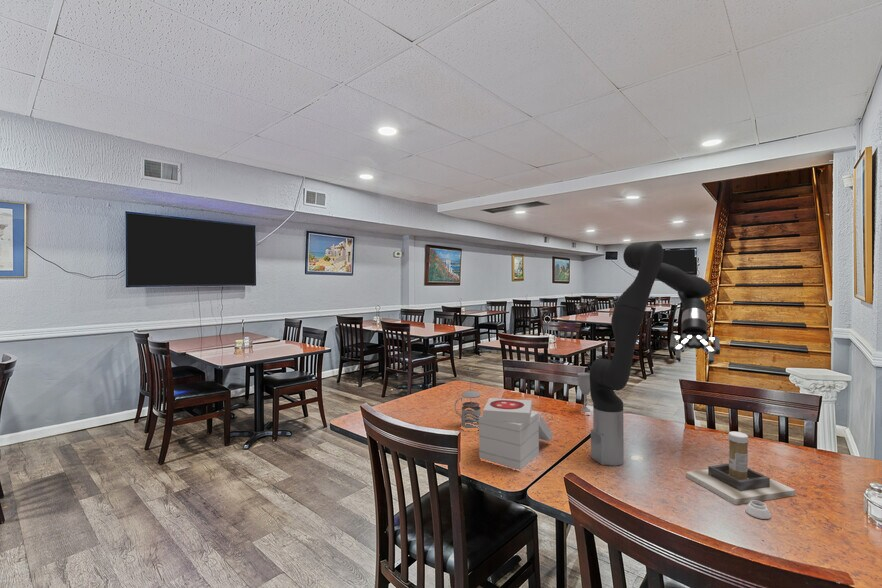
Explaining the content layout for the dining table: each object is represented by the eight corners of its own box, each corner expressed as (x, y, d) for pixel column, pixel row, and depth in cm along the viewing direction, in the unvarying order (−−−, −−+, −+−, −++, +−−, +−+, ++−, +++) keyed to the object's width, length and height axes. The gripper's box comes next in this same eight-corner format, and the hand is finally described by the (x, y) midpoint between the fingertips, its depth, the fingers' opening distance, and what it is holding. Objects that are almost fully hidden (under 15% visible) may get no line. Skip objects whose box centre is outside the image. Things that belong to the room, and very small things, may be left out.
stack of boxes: (557, 444, 146) (557, 395, 146) (523, 476, 122) (522, 417, 122) (510, 434, 157) (509, 388, 157) (469, 461, 133) (469, 407, 133)
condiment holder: (735, 505, 105) (735, 489, 105) (685, 476, 120) (685, 463, 120) (795, 495, 109) (795, 480, 109) (740, 469, 125) (740, 456, 125)
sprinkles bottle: (726, 475, 118) (726, 430, 118) (745, 478, 116) (745, 432, 116) (730, 482, 114) (731, 435, 113) (750, 485, 112) (750, 437, 112)
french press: (484, 431, 160) (483, 369, 160) (455, 432, 160) (454, 369, 160) (482, 423, 170) (481, 364, 169) (454, 423, 170) (454, 365, 170)
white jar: (742, 507, 104) (749, 518, 99) (742, 496, 104) (749, 506, 99) (766, 511, 102) (774, 522, 97) (766, 500, 102) (774, 510, 97)
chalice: (594, 416, 177) (594, 376, 176) (578, 416, 178) (578, 375, 178) (592, 411, 184) (591, 372, 184) (576, 411, 185) (576, 372, 185)
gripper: (670, 316, 142) (669, 353, 133) (719, 317, 135) (721, 356, 125) (671, 329, 147) (669, 366, 137) (718, 331, 139) (720, 370, 130)
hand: (694, 361), depth 131 cm, fingers open, 8 cm apart
